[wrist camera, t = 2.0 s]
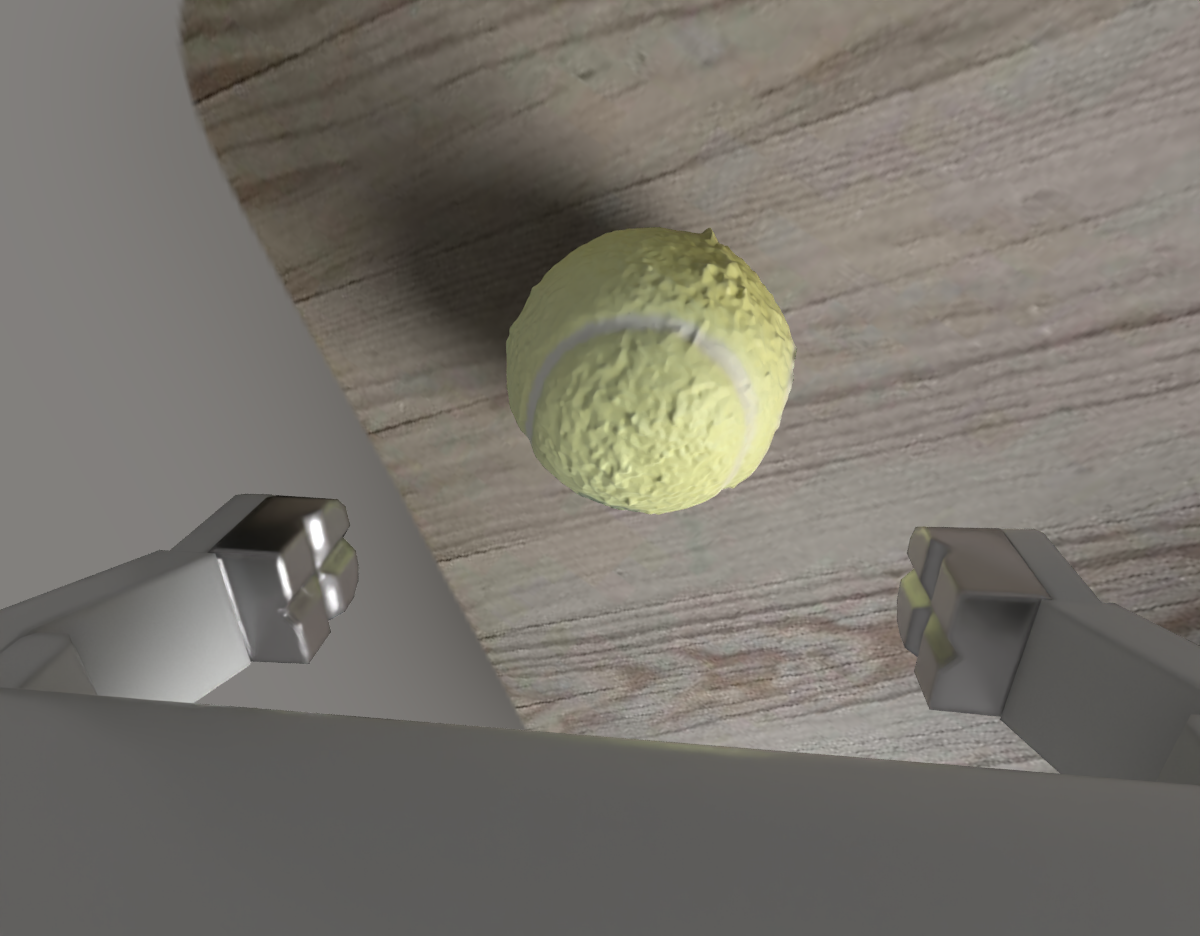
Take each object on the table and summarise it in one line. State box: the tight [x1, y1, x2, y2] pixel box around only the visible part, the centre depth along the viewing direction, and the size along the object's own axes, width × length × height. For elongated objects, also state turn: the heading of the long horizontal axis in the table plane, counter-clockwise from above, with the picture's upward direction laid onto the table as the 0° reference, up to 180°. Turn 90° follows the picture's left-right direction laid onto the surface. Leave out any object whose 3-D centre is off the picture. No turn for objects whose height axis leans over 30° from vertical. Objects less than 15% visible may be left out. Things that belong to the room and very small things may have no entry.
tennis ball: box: [506, 227, 797, 515], centre depth 16 cm, size 6×7×7 cm
